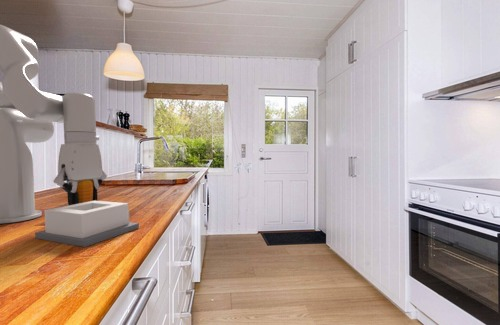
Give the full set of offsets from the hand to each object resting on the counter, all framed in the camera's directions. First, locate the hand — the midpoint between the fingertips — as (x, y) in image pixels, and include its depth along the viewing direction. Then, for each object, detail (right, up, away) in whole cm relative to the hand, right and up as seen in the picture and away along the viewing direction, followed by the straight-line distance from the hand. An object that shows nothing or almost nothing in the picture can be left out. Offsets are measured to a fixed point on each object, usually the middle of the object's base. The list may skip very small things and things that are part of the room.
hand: (83, 204), depth 75 cm
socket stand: (+9, -5, -12) cm, 16 cm away
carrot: (0, -5, 0) cm, 5 cm away
